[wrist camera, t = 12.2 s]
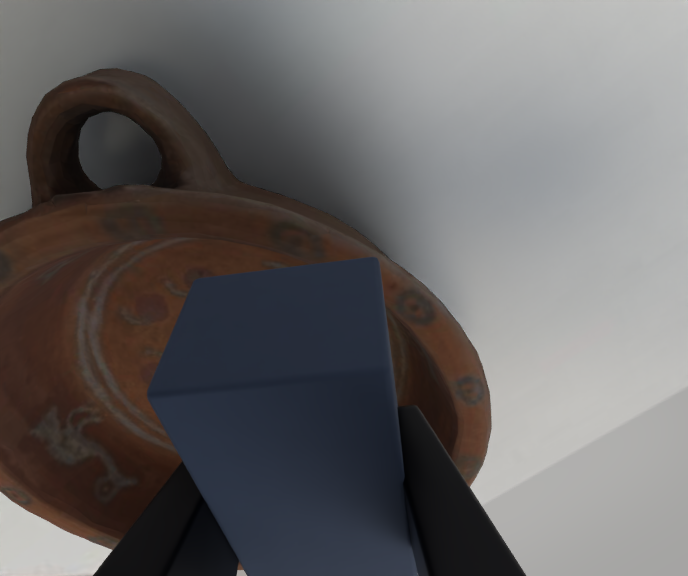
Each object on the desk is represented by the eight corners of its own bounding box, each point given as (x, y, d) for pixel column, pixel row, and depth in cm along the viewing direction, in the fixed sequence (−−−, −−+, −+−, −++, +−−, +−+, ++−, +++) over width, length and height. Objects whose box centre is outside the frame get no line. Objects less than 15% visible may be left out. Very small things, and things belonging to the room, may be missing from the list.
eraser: (406, 476, 11) (420, 597, 9) (276, 487, 11) (262, 607, 9) (378, 253, 8) (391, 369, 6) (192, 276, 8) (141, 395, 6)
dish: (180, 518, 28) (152, 619, 24) (-161, 153, 15) (-341, 235, 11) (495, 464, 25) (524, 569, 21) (389, -44, 12) (411, -29, 8)
